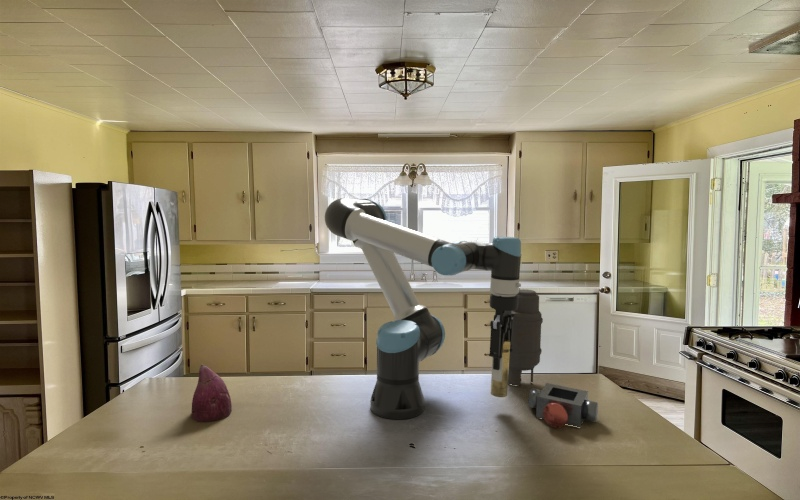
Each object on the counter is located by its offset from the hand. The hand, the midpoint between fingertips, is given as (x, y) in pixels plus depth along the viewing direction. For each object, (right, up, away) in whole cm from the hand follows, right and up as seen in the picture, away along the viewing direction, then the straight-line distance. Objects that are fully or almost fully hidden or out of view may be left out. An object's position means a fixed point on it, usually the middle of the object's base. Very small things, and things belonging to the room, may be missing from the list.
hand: (499, 377), depth 122 cm
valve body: (+15, -10, -4) cm, 19 cm away
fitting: (0, -5, 0) cm, 5 cm away
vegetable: (-78, -9, -3) cm, 79 cm away
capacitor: (+11, -8, +21) cm, 25 cm away
